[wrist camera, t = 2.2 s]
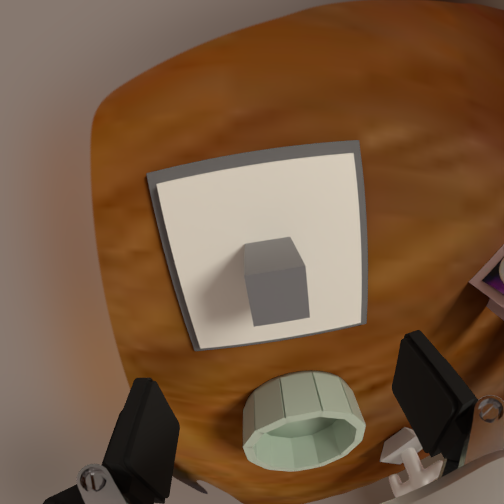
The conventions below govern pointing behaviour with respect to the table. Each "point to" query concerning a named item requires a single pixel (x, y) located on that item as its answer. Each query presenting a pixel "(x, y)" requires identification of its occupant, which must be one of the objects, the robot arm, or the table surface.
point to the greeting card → (492, 282)
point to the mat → (252, 159)
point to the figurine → (408, 462)
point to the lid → (267, 248)
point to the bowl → (301, 421)
